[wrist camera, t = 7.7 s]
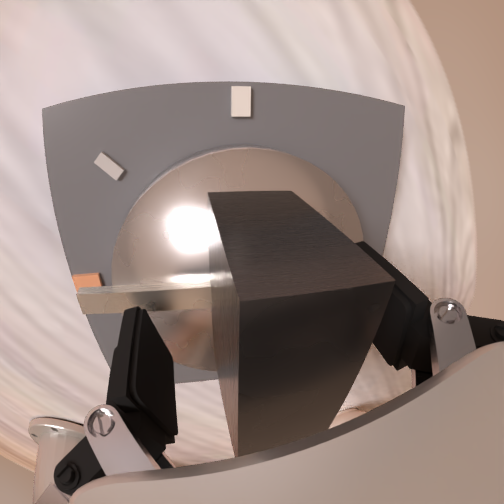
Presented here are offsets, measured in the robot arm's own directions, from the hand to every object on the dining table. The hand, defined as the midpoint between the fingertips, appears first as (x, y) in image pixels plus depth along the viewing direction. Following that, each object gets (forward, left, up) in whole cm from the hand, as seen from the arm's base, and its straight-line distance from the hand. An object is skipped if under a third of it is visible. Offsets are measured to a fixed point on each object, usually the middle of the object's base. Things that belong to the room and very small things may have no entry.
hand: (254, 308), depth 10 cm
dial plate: (0, 0, -5) cm, 5 cm away
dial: (0, 0, -3) cm, 3 cm away
